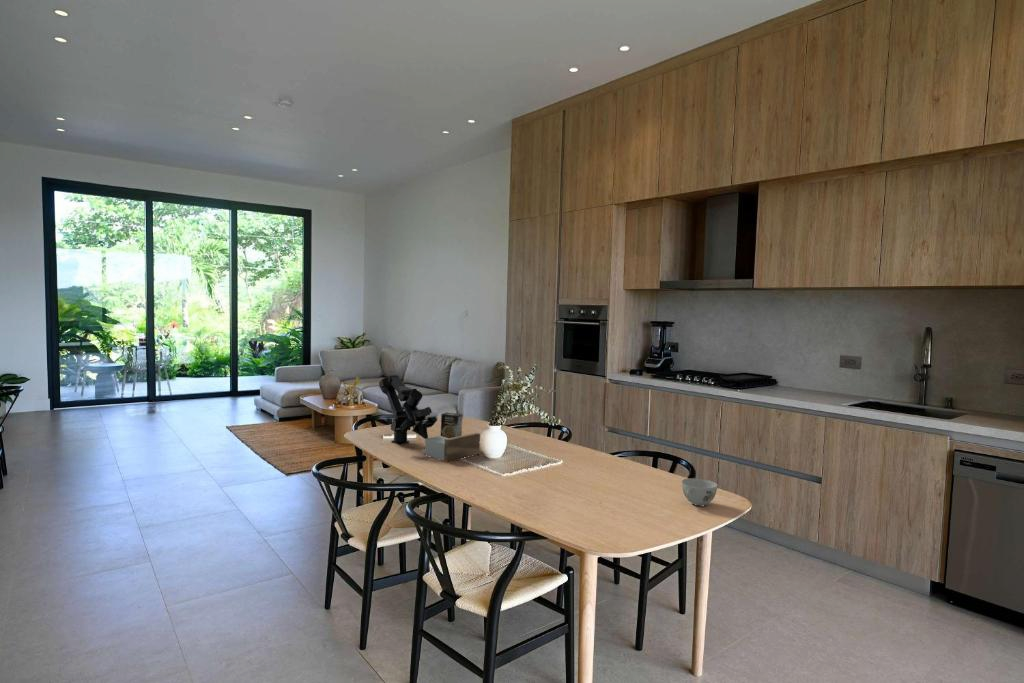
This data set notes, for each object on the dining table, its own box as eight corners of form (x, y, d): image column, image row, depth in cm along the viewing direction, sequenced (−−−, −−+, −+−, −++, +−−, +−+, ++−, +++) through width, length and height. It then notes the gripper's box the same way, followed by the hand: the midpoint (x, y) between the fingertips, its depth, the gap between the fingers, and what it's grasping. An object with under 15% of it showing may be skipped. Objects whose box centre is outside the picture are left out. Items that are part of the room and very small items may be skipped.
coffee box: (439, 446, 276) (440, 414, 275) (444, 443, 282) (445, 411, 281) (456, 448, 274) (457, 415, 273) (461, 445, 280) (462, 413, 279)
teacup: (691, 496, 215) (692, 475, 214) (722, 505, 205) (724, 483, 205) (670, 504, 204) (671, 482, 204) (702, 514, 195) (703, 491, 195)
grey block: (424, 455, 258) (425, 438, 258) (439, 452, 265) (440, 435, 265) (444, 461, 250) (444, 444, 249) (458, 458, 257) (459, 440, 256)
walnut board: (443, 461, 250) (444, 439, 249) (475, 453, 265) (476, 432, 264) (447, 462, 248) (448, 440, 247) (479, 454, 263) (480, 433, 263)
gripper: (405, 403, 259) (419, 431, 253) (435, 399, 273) (450, 426, 267) (393, 417, 265) (408, 445, 258) (424, 413, 279) (438, 439, 273)
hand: (426, 438), depth 264 cm, fingers closed
